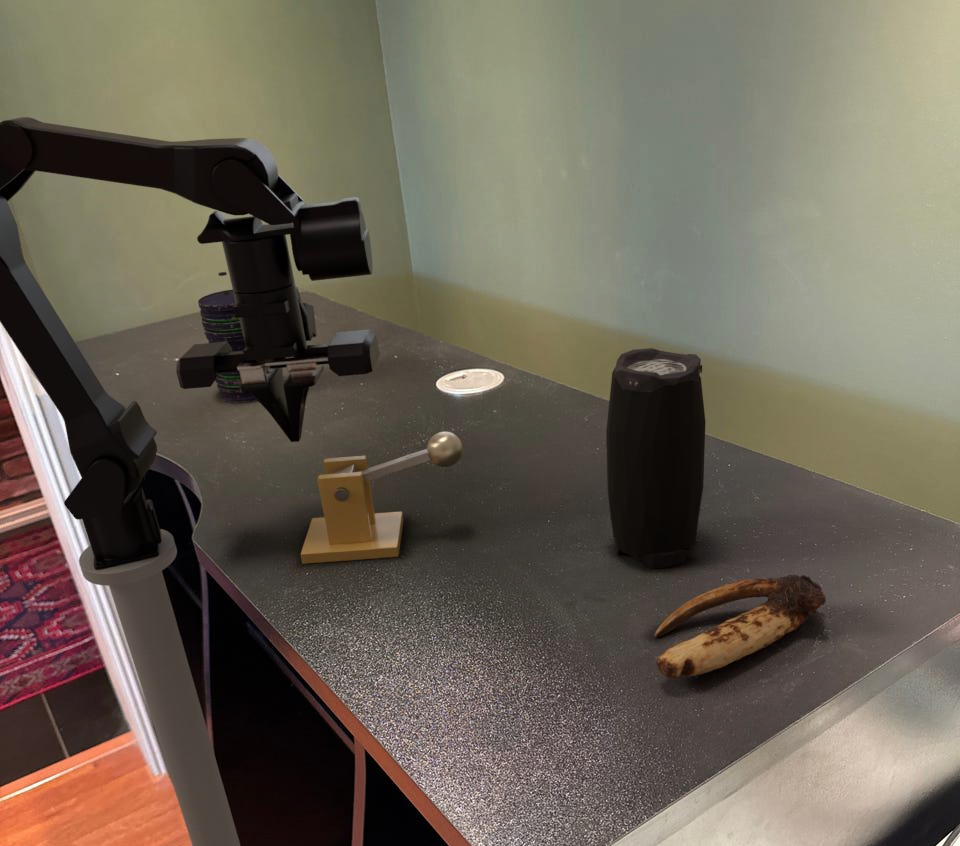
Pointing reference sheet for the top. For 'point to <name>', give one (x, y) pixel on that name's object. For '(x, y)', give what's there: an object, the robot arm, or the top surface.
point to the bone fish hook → (739, 623)
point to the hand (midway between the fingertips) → (296, 440)
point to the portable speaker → (655, 454)
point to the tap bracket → (350, 519)
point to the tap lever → (416, 457)
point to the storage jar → (225, 339)
